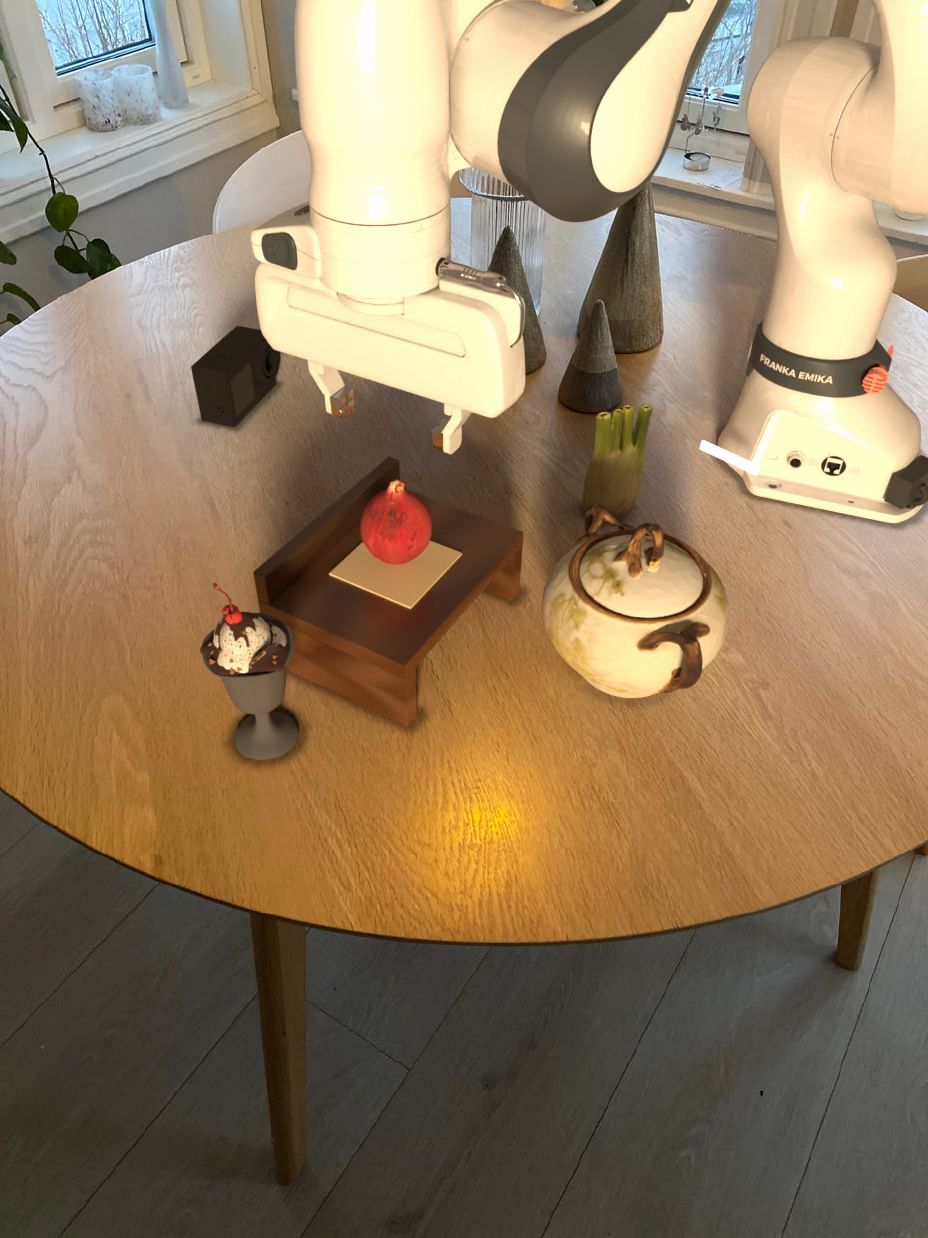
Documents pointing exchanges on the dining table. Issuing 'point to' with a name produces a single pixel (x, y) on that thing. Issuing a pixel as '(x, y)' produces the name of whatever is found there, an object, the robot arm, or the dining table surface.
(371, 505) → the pomegranate
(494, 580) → the shelf
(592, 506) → the sugar bowl
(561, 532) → the dining table surface
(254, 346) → the digital camera
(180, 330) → the dining table surface
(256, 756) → the sundae
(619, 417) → the fennel bulb
